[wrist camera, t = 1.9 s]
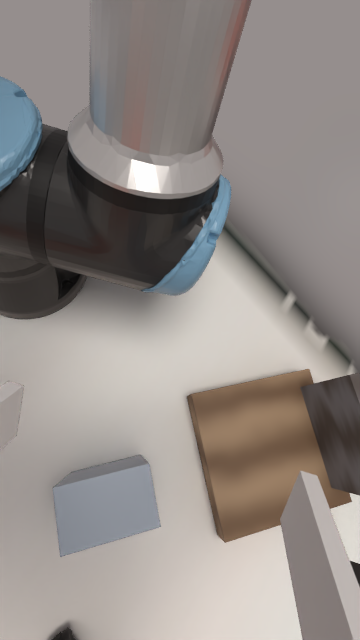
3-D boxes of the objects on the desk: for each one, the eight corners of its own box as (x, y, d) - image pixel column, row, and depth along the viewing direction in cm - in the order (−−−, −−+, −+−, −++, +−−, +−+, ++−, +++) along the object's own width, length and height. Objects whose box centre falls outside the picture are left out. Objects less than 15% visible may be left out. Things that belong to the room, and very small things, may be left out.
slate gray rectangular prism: (71, 472, 39) (52, 488, 28) (140, 454, 41) (149, 463, 30) (77, 519, 38) (60, 556, 27) (148, 500, 40) (160, 526, 29)
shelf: (186, 396, 44) (213, 382, 32) (297, 372, 48) (359, 352, 36) (217, 534, 40) (261, 580, 28) (336, 497, 43) (421, 522, 31)
